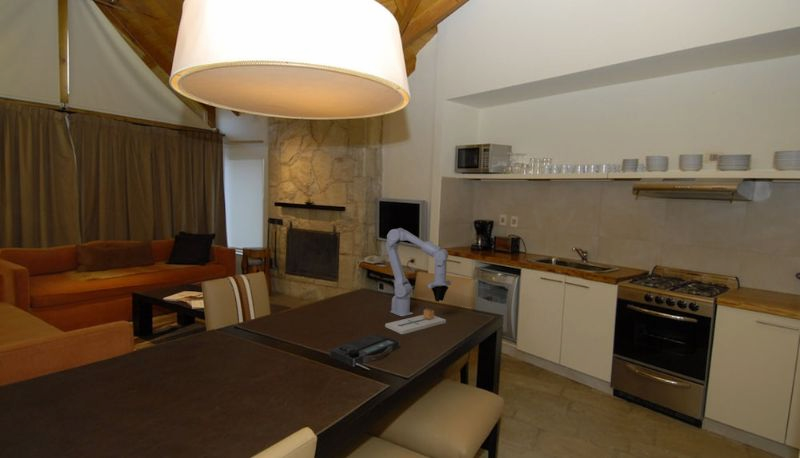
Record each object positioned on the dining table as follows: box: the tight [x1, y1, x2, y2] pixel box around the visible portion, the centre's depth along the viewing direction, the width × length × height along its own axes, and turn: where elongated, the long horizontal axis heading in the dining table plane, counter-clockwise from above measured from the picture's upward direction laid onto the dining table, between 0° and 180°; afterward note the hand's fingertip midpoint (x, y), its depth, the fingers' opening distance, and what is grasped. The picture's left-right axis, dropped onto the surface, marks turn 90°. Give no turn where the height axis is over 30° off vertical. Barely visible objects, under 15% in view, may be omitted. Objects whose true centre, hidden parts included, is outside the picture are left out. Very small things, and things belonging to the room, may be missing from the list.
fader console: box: [384, 314, 447, 335], centre depth 191 cm, size 12×28×2 cm, turn 130°
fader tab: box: [423, 307, 435, 319], centre depth 196 cm, size 4×3×4 cm
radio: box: [329, 332, 400, 371], centre depth 155 cm, size 25×4×20 cm
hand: (439, 300), depth 200 cm, fingers open, 2 cm apart
